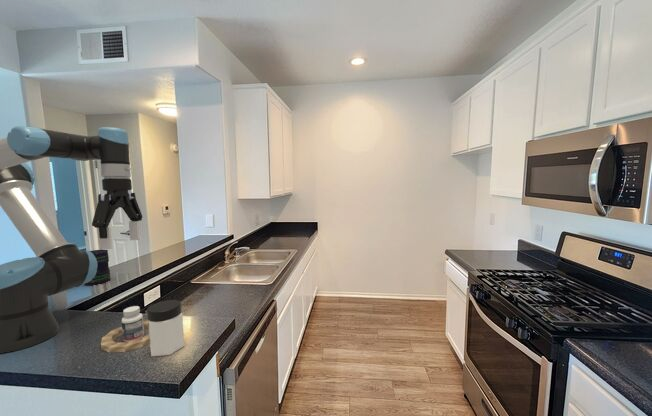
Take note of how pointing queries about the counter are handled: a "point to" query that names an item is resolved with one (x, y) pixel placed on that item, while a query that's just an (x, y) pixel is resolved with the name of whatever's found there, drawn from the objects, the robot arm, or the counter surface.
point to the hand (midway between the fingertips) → (121, 244)
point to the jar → (165, 327)
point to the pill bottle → (132, 324)
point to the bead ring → (114, 347)
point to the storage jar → (100, 268)
